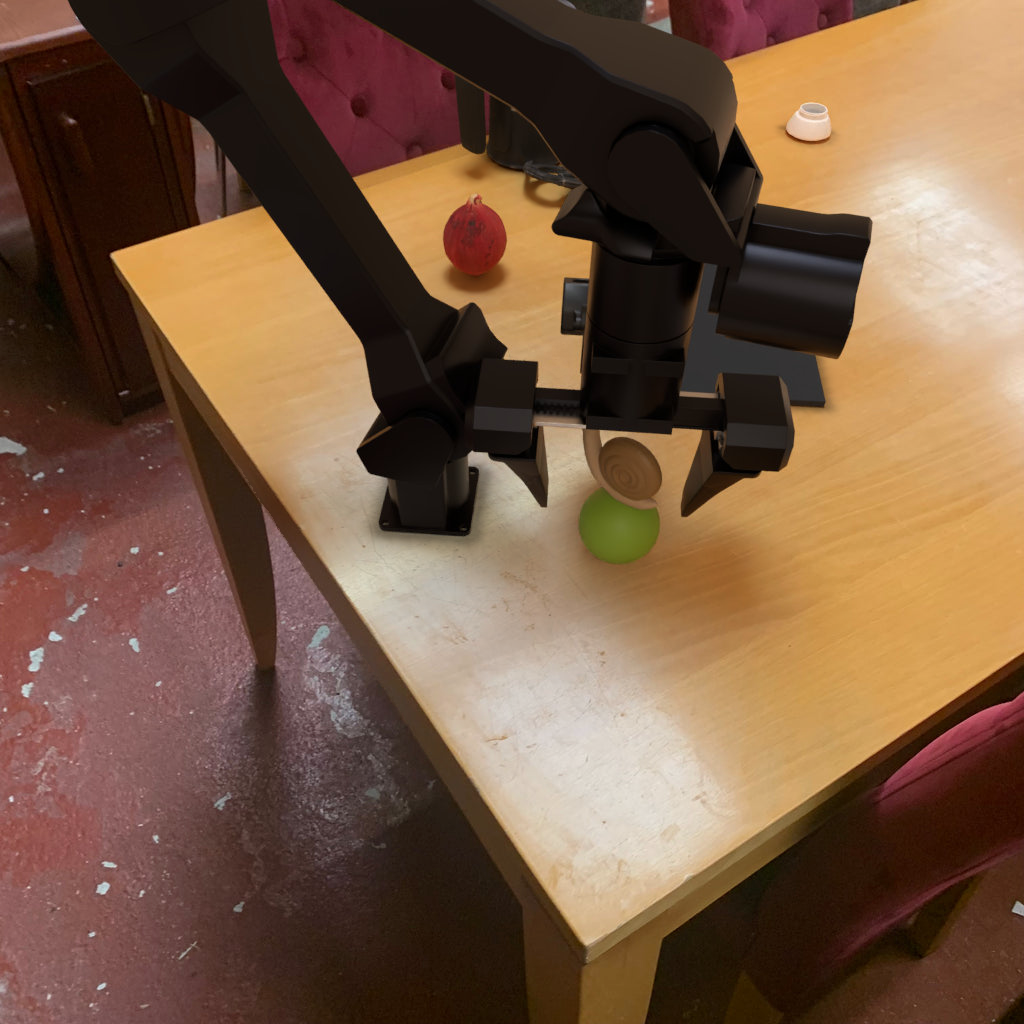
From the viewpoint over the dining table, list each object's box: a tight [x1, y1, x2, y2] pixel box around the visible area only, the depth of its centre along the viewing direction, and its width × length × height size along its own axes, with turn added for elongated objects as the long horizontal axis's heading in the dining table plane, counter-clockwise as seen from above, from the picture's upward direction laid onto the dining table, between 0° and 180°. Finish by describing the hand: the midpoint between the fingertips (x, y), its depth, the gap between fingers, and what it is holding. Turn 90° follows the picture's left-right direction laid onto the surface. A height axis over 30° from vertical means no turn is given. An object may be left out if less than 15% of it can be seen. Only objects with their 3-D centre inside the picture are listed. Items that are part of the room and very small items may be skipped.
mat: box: [680, 263, 827, 408], centre depth 78 cm, size 20×12×1 cm, turn 175°
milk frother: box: [454, 0, 583, 191], centre depth 92 cm, size 14×16×15 cm
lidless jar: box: [785, 102, 833, 142], centre depth 102 cm, size 5×3×5 cm
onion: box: [442, 192, 508, 277], centre depth 81 cm, size 6×6×8 cm
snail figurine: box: [578, 429, 663, 565], centre depth 57 cm, size 5×6×12 cm
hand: (613, 507), depth 59 cm, fingers open, 9 cm apart
